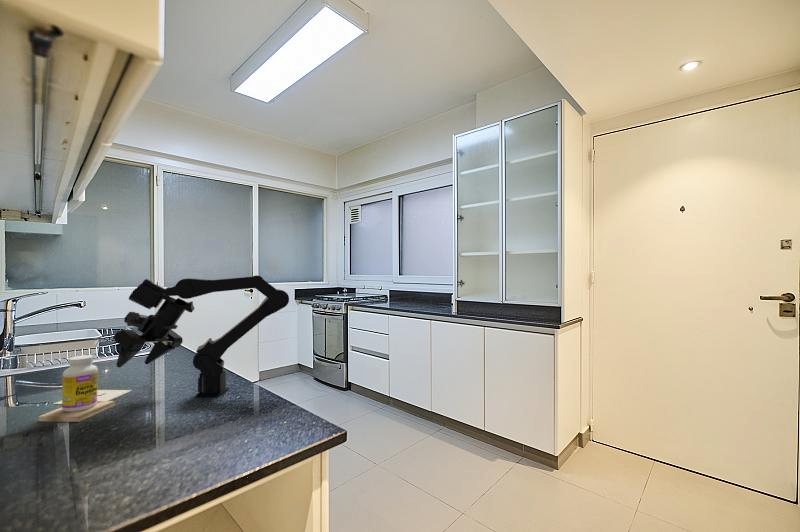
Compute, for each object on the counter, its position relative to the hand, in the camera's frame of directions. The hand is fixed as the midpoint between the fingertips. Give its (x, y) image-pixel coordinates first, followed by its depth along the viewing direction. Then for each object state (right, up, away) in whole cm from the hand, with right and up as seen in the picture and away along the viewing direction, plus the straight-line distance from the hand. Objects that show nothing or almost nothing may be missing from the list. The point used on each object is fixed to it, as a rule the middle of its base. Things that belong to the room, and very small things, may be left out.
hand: (132, 365), depth 97 cm
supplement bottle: (-7, -9, -8) cm, 14 cm away
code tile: (-13, -10, +3) cm, 17 cm away
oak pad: (-7, -10, -8) cm, 15 cm away
